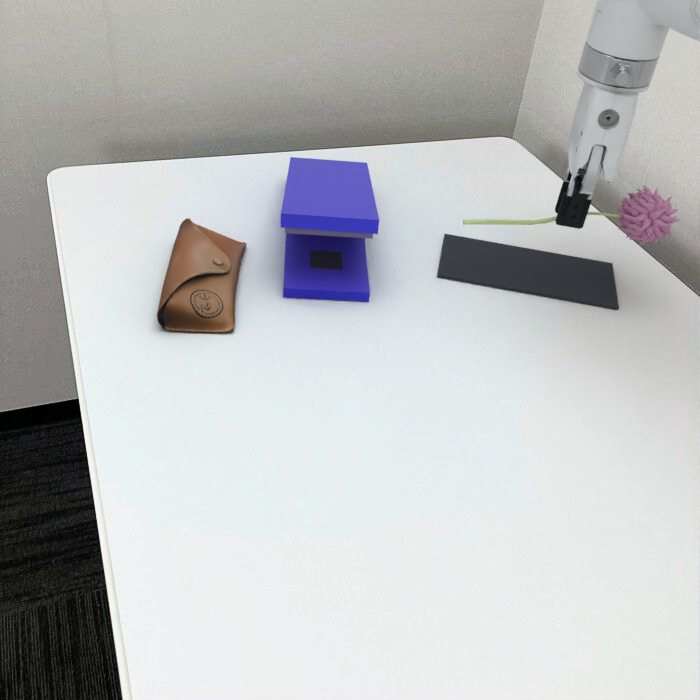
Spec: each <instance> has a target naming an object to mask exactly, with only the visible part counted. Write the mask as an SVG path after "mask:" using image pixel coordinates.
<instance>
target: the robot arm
mask: <svg viewBox="0 0 700 700" xmlns="http://www.w3.org/2000/svg"><path fill="white" fill-rule="evenodd" d="M591 17H592V19H591V22H590V25H589V29H588V31H587V35H586V39H585V42H584V45H583V49H582V53H581V55H580V59H579V63H578V67H577V71H576V76H577V77H578V78H579V80H581V81H582V82H583V86H582V89H581V92H580V95H579V99H578V102H577V105H576V108H575V112H574V115H573V118H572V123H571V126H570V132H569V136H568V140H567V158H568V167H567V170H566V173H565V179H564V180H565V181H564V180H563V181H562V184H561V188H560V190H559V193H558V198H557V201H556V204H555V208H554V212H555V214H556V216H557V217H556V216H555V217H556V221H555V225H557V226H561V227H568V228H573V229H579V230H581V229H583V228H584V226H585V222H586V219H587V216H588V215H587V213H588V212H589V210H590V207H591V205H592V200H593V196H594V194H595V190H596V189H597V188H596V186H597V184H598V181H599V179H600V175H601V173H602V172H603V173H602V174H603V181H604V182H607V184H612V183H613V182H615V181H616V178H617V175H618V172H619V168H620V165H621V162H622V158H623V155H624V151H625V148H626V145H627V142H628V138H629V135H630V131H631V128H632V124H633V121H634V117H635V113H636V108H637V104H638V99H639V95H640V93H644V92H646V91H647V90H648V89H649V87H650V85H651V82H652V79H653V76H654V73H655V70H656V68H657V65H658V62H659V60H660V56H661V53H662V50H663V47H664V44H665V41H666V39H667V35H668V32H669V30H672V31H674V32H677V33H679V34H681V35H683V36H685V37H688V38H690V39H692V40H695V41H698V42H700V0H596V4H595V7H594V11H593V15H592V16H591Z"/></svg>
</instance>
